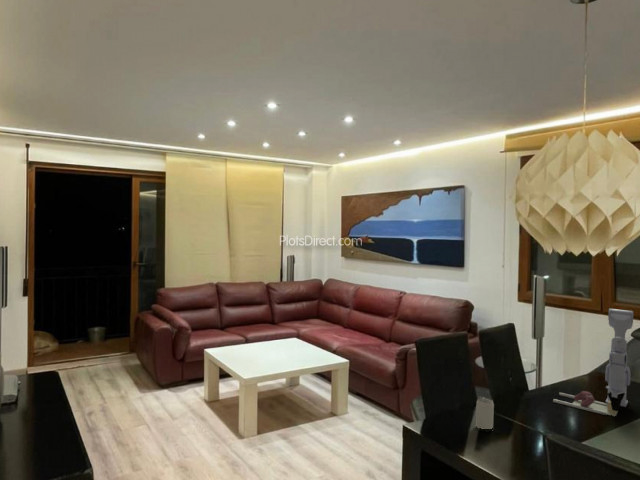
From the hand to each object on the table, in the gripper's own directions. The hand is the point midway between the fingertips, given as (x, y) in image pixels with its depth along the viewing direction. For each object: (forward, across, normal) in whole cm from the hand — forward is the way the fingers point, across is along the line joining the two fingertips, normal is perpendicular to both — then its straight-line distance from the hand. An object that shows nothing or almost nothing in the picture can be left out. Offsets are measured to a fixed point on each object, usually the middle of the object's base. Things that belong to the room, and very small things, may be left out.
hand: (615, 409), depth 194 cm
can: (+2, +59, -37) cm, 70 cm away
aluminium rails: (+2, 0, -13) cm, 13 cm away
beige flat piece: (+2, 0, -8) cm, 8 cm away
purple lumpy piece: (+1, 0, -12) cm, 12 cm away
